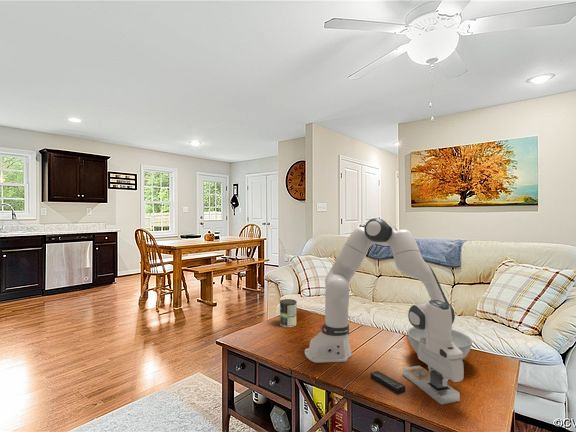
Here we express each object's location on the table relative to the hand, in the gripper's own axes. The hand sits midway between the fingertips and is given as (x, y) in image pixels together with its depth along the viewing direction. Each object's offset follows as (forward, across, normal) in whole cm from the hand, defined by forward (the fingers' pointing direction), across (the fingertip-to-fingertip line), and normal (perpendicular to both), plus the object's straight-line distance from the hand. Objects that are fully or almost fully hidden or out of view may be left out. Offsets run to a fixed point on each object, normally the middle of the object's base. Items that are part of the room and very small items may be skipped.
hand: (438, 381), depth 122 cm
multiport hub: (+5, -11, -15) cm, 19 cm away
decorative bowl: (+5, -22, +19) cm, 29 cm away
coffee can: (+5, -89, -33) cm, 95 cm away
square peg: (+5, 0, 0) cm, 5 cm away
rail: (+5, -5, 0) cm, 7 cm away
